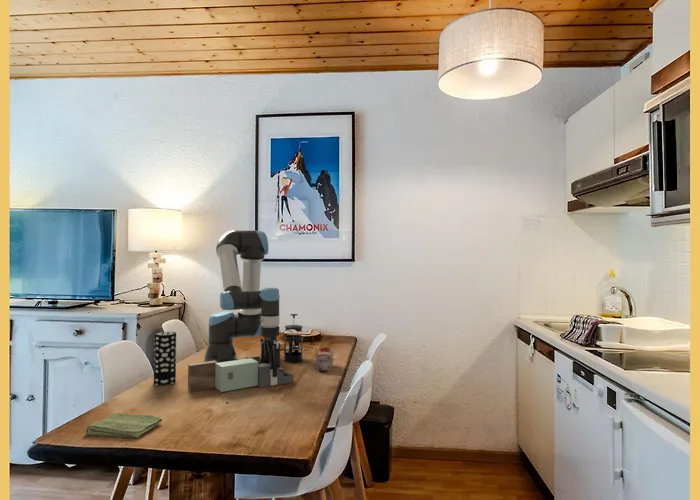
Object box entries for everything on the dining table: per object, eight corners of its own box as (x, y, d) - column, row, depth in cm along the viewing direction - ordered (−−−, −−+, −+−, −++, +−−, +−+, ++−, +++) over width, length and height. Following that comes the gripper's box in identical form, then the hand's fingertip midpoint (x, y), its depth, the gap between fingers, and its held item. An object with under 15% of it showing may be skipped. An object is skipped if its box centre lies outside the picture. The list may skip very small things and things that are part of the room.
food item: (332, 372, 201) (332, 350, 201) (314, 372, 200) (315, 350, 201) (333, 365, 214) (333, 344, 214) (316, 364, 214) (316, 344, 214)
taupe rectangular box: (187, 390, 173) (188, 364, 173) (256, 378, 189) (256, 354, 189) (190, 392, 170) (190, 365, 170) (259, 380, 187) (259, 356, 187)
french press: (299, 363, 216) (299, 315, 216) (280, 362, 217) (281, 315, 218) (306, 357, 227) (306, 312, 227) (288, 356, 229) (288, 312, 229)
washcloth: (139, 441, 127) (139, 430, 127) (82, 437, 130) (83, 425, 130) (164, 423, 140) (164, 413, 140) (112, 420, 143) (112, 410, 143)
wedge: (256, 384, 181) (256, 364, 181) (288, 379, 189) (288, 360, 189) (260, 387, 177) (260, 367, 177) (293, 382, 184) (293, 362, 185)
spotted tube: (180, 381, 184) (180, 332, 184) (164, 386, 177) (164, 336, 177) (165, 378, 188) (166, 331, 188) (148, 383, 180) (149, 334, 180)
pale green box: (215, 387, 176) (215, 363, 176) (250, 381, 184) (251, 358, 184) (221, 392, 169) (222, 367, 169) (258, 386, 178) (259, 362, 178)
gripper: (252, 324, 187) (252, 379, 187) (271, 330, 172) (272, 390, 172) (268, 322, 192) (268, 376, 192) (289, 328, 177) (289, 386, 177)
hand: (270, 382), depth 182 cm, fingers closed on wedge, 5 cm apart
